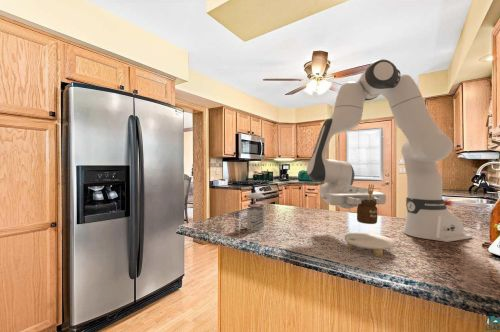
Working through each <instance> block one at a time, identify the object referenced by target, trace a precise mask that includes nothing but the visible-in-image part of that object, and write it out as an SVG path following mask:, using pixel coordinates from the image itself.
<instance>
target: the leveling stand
mask: <svg viewBox="0 0 500 332" xmlns="http://www.w3.org/2000/svg"><path fill="white" fill-rule="evenodd" d="M344 241H345V243H347V245H346V246H347V248H348V249H350V250H354V249H356V247H357V248H362V249H368V250H373V256H375V257H378V258H380V257H383V256H384V250H388V249H391V248H393V247H394V240H393V239H392V238H389V237H387V236H384V235H381V234H374V233H369V232H352V233H351V232H350V233H347V234H345V235H344Z"/></svg>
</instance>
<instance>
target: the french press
mask: <svg viewBox="0 0 500 332" xmlns="http://www.w3.org/2000/svg"><path fill="white" fill-rule="evenodd" d="M258 173H259V171H257V170H254V171H253V174H255V176H257V174H258ZM265 197H266V196H265V195H264V194H263V193H259V192H257V191H254V192H252V193H249V194H247V195H246V198H247V199H255V200H257V199H262V203H264V202H266V204H267V205H266V206H268V207H267V209H266V210H265V208H264V204H262V203H261V204H260V203H259V204H257V203H253V204H248V205H247V207H248V208H246V224H247V225H245V226H246V228H247V229H246V230H248V229H251V230H250V231H264V230H266V229H267V228H268V227H267V226H266V225H265V224H266V223H265V222H266V220H265V219H266V218H265V217H266V216H267V215H268V214H269V212H270V210H271V204H270V202H269V200H268V199H266V198H265ZM263 229H264V230H263Z"/></svg>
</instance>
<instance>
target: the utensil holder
mask: <svg viewBox="0 0 500 332" xmlns="http://www.w3.org/2000/svg"><path fill="white" fill-rule="evenodd" d="M366 188H368V189H367V190H368V194H370V196H368V197H369V198H368V199H369V200H367V199H361V200H362V201H361V203H362V204H361V205H358V206H357V208H356V220H357V222H358V223H360V224H365V225H376V224H377V223H378V212H379V211H378V207H377V206H376V204H377V203H376V201H374V200H370V198H371V194H373V191H374V188H375V184H368V187H364V188H363V189H366ZM369 190H370V191H369ZM371 190H372V191H371ZM366 194H367V192H366ZM363 196H364V191H363ZM361 197H362V196H361Z"/></svg>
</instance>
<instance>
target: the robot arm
mask: <svg viewBox="0 0 500 332" xmlns="http://www.w3.org/2000/svg"><path fill="white" fill-rule="evenodd" d="M380 95H382V96H383V97H384V98H385V99H386V101H387V103H388V104H389V105H388V106H389V108H390V112H391V113H392V115H393V118H394V120H395V124H396V125H397V128H398V129H400V131H401V132H402V133H403V135H404V136H405V138H406V139H407V140H406V141H405V142H404V143H403V144H402V146H401V151H400V152H401V155H402V157H403V163H404V168H405V173H406V179H407V180H406V181H407V197H405V198H406V199H405V206H406V215H405V222H404V226H403V229H402V233H403V234H405V235H408V236H411V237H415V238H419V239H424V240H425V239H426V240H434V241H440V242H446V243H447V242H448V243H449V242H455V241H461V240H469V239H473V235H472V234H470V233H468V232H465V231H464V224H463V220H461V219H460V218H459V217H458V216H457V215H455V214H454V213H452V212H451V211H450V210H448V209H447V206H449V207H452V206H453V203H454V202H453V201H452V200H448V199H445V200H444V199H443V178H442V176H441V174H440V171H439V169H438V166H437V162H440V161H442V160H444V159H446V158H448V157H449V156H450V155H451V154H452V152H453V149H454V143H453V141H452V139H451V138H450V136H448V135H447V134H445V133H444V132H443V131H442V129H441V128H440V127H439V126H438V124H437V123H436V121H435V120H434V118H432V115H431V114H430V112H429V109H428V107H427V104H426V101H425V100H424V97H423V95H422V92H421V90H420V88H419V86H418V85H417V83H416V82H415V80H414V79H413V77H412V76H411V75H409V74H401V71H400V69H398V68H397V66H396V65H395V64H394V63H393V62H392V61H390V60H388V59H383V58H382V59H378V60H375V61H374V62H372V63H370V64H369V66H367V68H366V69H365V70H364V72H363V73H362V74H361V75H360V77H359V79H358V81H348V82H345V83H344V84H342V85H340V87H339V89H338V92H337V96H336V98H335V103H334V107H333V112H332V114H331V116H330V117H329V118H327V119H326V120H325V121H324V122H323V124H322V126H321V129H320V131H319V134H318V138H317V140H316V143H315V146H314V149H313V152H312V154H311V156H310V158H309V161H308V163H307V167H306V175H307V177H308V178H309V179H310V181H312V182H315V183H323V184H322V185H321V186H320V187H319V190H318V191H319V195H320V197H321V199H322V200H323V201H325V203H326V204H328V205H330V206H337V207H339V208H343V209H345V210H349V209H353V208H356V207H358V205H361V204H362V203H361V201H362V200H361V199H367V200H369V199H368V198H369V197H368V196H370V194H368V190H367V189H368V188H369V187H363V186H362V187H360V186H356V185H354V180H355V169H354V167H353V166H352V164H351V163H350V162H348V161H343V160H336V159H330V158H326V154H327V151H328V148H329V145H330V141H331V139H332V138H333V137H334V135H337V134H342V133H345V132H346V133H347V132H351V131H353V130H354V129H355V128H357V127H358V126H359V125H360V124H361V121H362V118H363V111H364V103H365V102H366V101H372V100H374V99H376V98H378V97H379V96H380ZM363 188H366V189H363ZM363 191H364V196H363ZM369 191H370V189H369ZM371 191H372V189H371ZM366 192H367V194H366ZM361 196H362V197H361ZM370 200H374V201H376V203H377V204H376V205H386V203H387V196H386V193H385V192H380V191H376V190H373V194H371V198H370Z"/></svg>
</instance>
